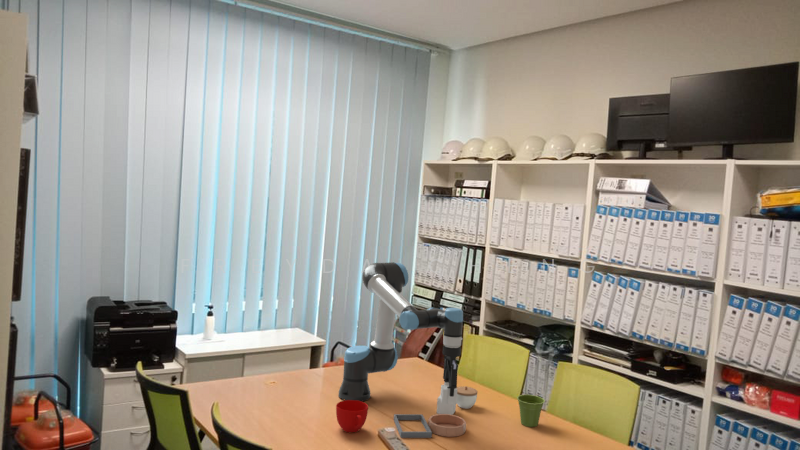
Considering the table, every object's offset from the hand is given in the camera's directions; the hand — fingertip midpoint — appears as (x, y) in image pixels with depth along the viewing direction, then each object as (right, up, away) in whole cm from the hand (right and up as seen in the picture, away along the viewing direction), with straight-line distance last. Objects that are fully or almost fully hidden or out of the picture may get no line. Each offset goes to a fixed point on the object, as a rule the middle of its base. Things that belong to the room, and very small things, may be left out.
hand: (448, 400), depth 243 cm
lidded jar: (+10, -12, +31) cm, 34 cm away
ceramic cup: (-39, -10, -8) cm, 41 cm away
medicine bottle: (+1, -12, +21) cm, 24 cm away
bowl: (-1, -12, +1) cm, 12 cm away
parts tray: (-15, -11, 0) cm, 19 cm away
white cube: (0, -1, 0) cm, 1 cm away
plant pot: (+36, -14, +12) cm, 41 cm away
